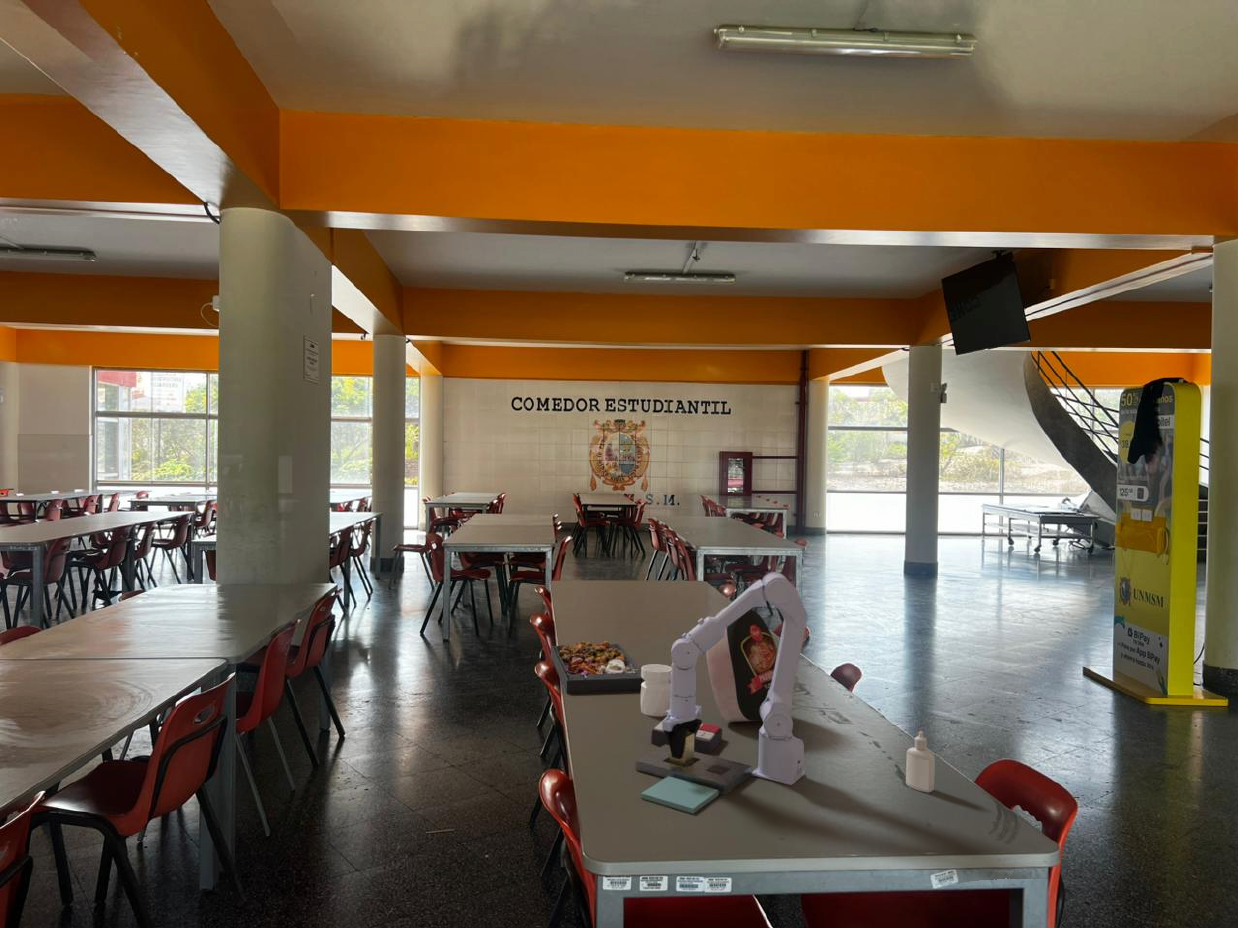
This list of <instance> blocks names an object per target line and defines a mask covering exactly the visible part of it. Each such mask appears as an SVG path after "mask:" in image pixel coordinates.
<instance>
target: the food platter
mask: <svg viewBox="0 0 1238 928" xmlns="http://www.w3.org/2000/svg"><path fill="white" fill-rule="evenodd" d="M550 658H551V661H552V662H553V665H554V667H555V669H556V672H557V675H558V677H559V679H560V681H561V685H562V686H563V689H564V692H565V694H590V693H591V694H595V693H597V694H598V693H599V694H600V693H625V692H626V693H628V692H629V693H630V692H631V693H632V692H641V684H642V683H643V682H644V681H645V680H644V679H643V678H642V677H641V668H639V666H638V665H637V664H636V663H635V661H634V660H633V659H632V658H631V657H630V655H629V654H628V653H627V652H626V651H625V650H624V648H623V647H622V646H621V644H617V643H613V644H610V643H609V641H608V640H604V641H602V642H601V643H600V644H593V643H592V642H590V641H588V642H585V641H583V640H581V641H580V642H579V643H577V642H576V643H574V644H565V645H551V646H550Z"/></svg>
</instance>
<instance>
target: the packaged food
mask: <svg viewBox="0 0 1238 928" xmlns="http://www.w3.org/2000/svg"><path fill="white" fill-rule="evenodd" d="M727 607H728V606H726V607H724V608H722V609H721V610H720V611H718V613H716V615H715V616H714V617H717V616H718V615H719V614H720V613H721V612H722V611H723V610H724V609H725V608H727ZM705 653H706V663H707V669H708V675H709V681H710V684H711V690H712V693H713V695H714V696H713V697H714V699H715V700H714V701H715V703H716V707H717V709H718V712H719V713H720V715H721V716H722V717H723V719H724V720H725V721H727V722H731V723H735V722H736V723H737V722H758V721H763V720H762V718H761V716H760V707H761V705H762V703H763V702H764V701H765V700H766V698H767V694H768V691H769V689H770V687H771V683H772V678H773V673H774V668H775V663H776V658H777V653H778V648H777V644H776V642H775V639H774V637H773V635H772V632H771V631H770V629H769V627H768V626H767V623H766V622H765V620H764V618H762V616H761V614H759V612H757V611H756V610H754V609H753V608H751V609H750V610H749V611H747V612H746V613H745V614H743V615H742V616H741V617H740V618H738V619H737V620H736V621H734V622H733V623H732V624H730V625H729V626H728V627H726V628H725V635H724V637H723V638H722V639H721V640H720V641H719V642H717V643H716V644H715V645H714V646H713V647H711V648H710V649H709V650H708V651H707V652H705Z"/></svg>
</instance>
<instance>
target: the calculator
mask: <svg viewBox="0 0 1238 928" xmlns="http://www.w3.org/2000/svg"><path fill="white" fill-rule="evenodd" d="M665 719H666V717H664V718H663V720H665ZM663 720H661V721H660V722H659V723H658V724H657V725H656V726H655V727H654V728H652V730H651V737H650V739H651V740H650V744H651V745H655V746H663V745H665V744H666V745H669V742H668V739H667V736H666V734H665V732H664V731H663V730H662V721H663ZM722 737H723V728H721V726H718V725H714V724H709V723H704V722H702V724H701V726H700V727H699V729H698V732H697V734H696V737H695V740H694V752H698V753H705V754H711V753H712V752H713V750H715V748H716V747H717V746H718V744H720V742H721V741H722V739H723V738H722Z"/></svg>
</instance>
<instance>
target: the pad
mask: <svg viewBox="0 0 1238 928" xmlns="http://www.w3.org/2000/svg"><path fill="white" fill-rule="evenodd" d="M719 794H720V793H719V790H716V789H713V788H709V787H706V786H702V785H698V784H695V783H691V782H687V781H684V780H680V779H677V778H673V777H669V776H668V777H666V778H663V779H662V780H660V781H658V782H656V783H655V784H654V785H652V786H650V787H649V788H647V789H646V790H644V791H643V792H641V793H640V799H642V800H646V801H650V802H651V803H656V804H659V805H662V806H666V807H668V808H672V809H675V810H679V811H683V812H684V813H689V814H692V815H693V814H695V813H696V812H698V811H699V810H701V809H702V808H703V807H704V806H706V805H707V804H708V803H710V802H711V801H713V800H714V799H716V798H717V797H718V796H719Z"/></svg>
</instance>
